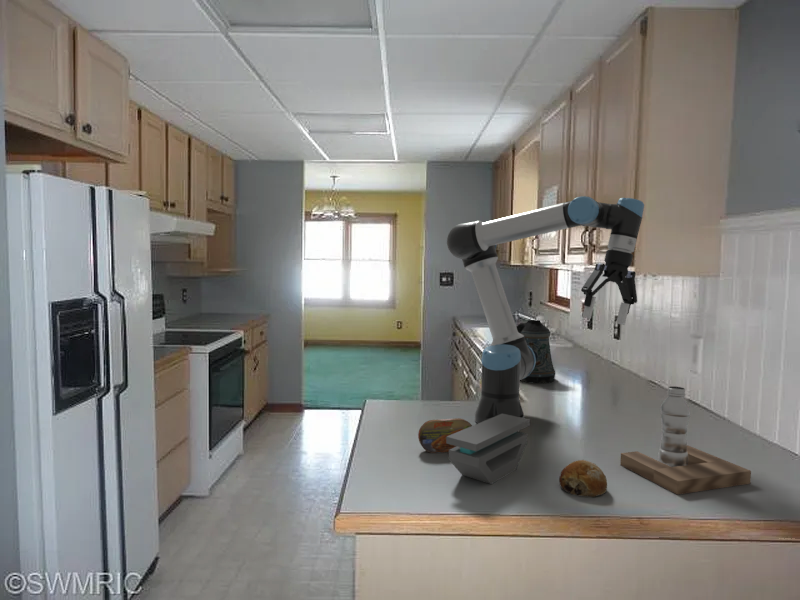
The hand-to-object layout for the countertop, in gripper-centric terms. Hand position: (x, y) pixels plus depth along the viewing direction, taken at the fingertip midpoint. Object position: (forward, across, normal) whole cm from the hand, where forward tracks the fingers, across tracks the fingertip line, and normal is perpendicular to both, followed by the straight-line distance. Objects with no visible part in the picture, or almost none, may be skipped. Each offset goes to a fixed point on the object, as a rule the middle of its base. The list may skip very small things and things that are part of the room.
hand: (603, 321), depth 166 cm
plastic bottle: (+31, -2, -35) cm, 47 cm away
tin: (+41, -46, -3) cm, 62 cm away
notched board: (+31, -3, -38) cm, 49 cm away
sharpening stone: (+40, -44, -20) cm, 63 cm away
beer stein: (+33, +29, +61) cm, 75 cm away
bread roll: (+36, -30, -36) cm, 59 cm away
